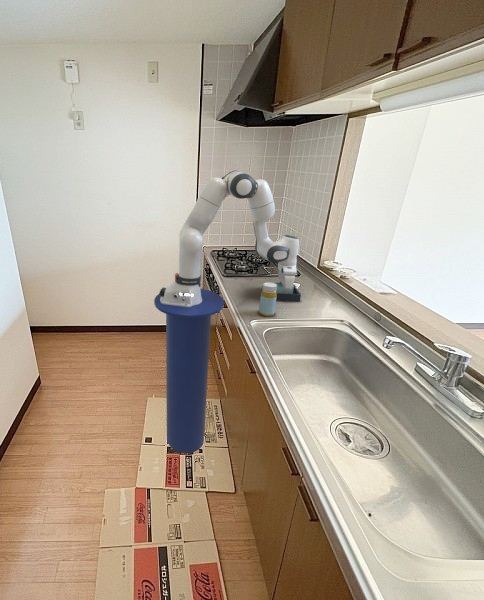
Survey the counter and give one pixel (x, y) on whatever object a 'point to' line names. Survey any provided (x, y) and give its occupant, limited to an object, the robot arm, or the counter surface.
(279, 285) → the case
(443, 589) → the counter surface
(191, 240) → the robot arm
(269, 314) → the bottle
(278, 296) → the tote
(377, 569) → the counter surface
